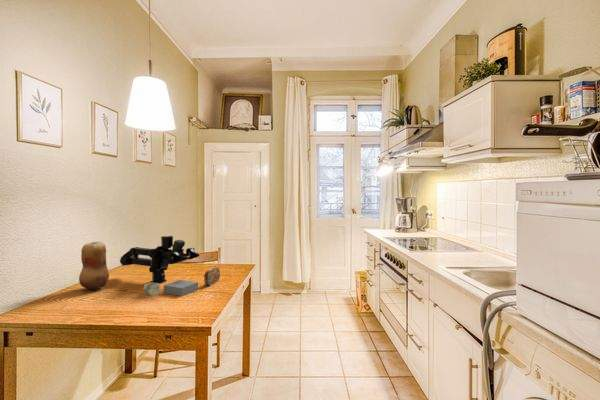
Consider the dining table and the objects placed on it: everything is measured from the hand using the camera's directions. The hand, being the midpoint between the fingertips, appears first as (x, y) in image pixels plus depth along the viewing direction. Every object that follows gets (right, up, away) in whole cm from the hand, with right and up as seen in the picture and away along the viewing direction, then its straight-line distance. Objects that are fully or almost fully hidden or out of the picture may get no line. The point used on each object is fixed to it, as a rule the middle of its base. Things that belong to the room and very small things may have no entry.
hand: (193, 256), depth 181 cm
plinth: (-4, -17, -8) cm, 19 cm away
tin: (+8, -17, +8) cm, 20 cm away
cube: (-18, -17, -12) cm, 27 cm away
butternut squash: (-51, -16, -6) cm, 54 cm away
